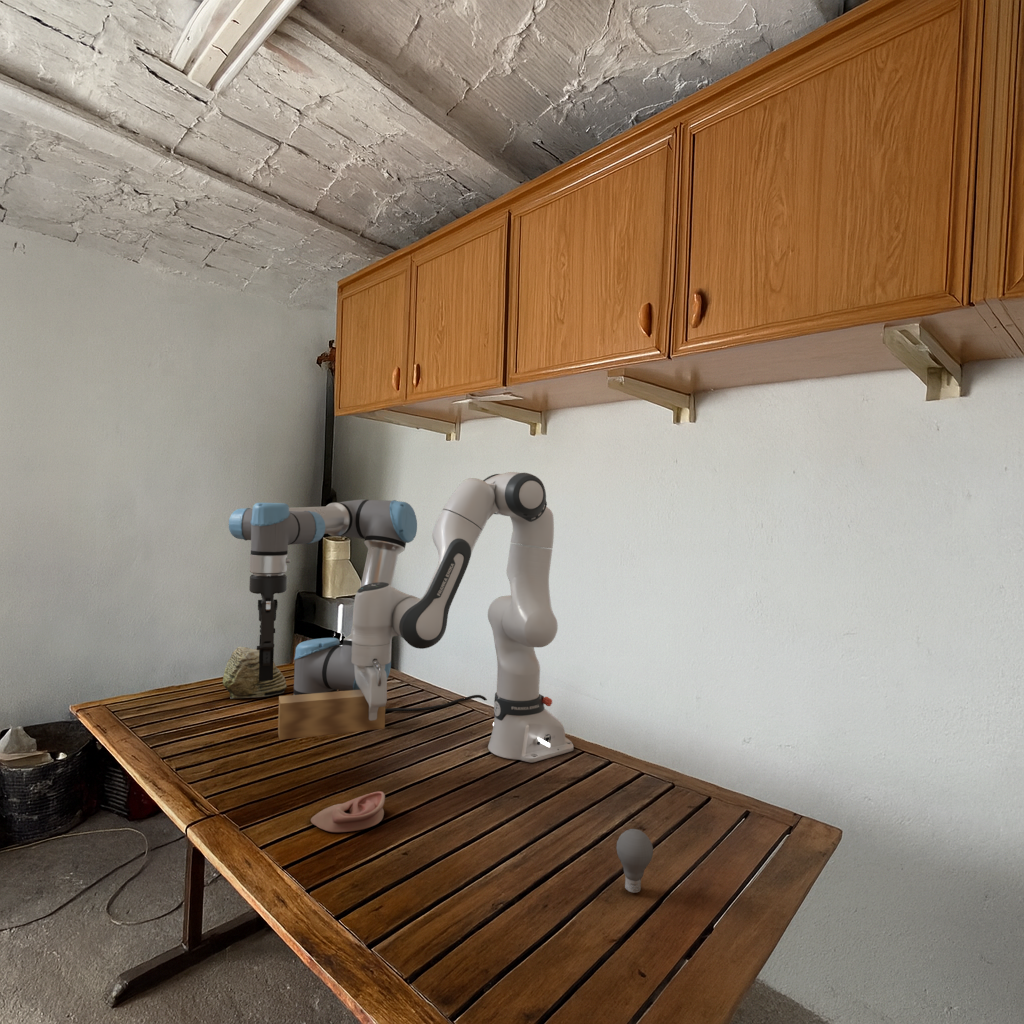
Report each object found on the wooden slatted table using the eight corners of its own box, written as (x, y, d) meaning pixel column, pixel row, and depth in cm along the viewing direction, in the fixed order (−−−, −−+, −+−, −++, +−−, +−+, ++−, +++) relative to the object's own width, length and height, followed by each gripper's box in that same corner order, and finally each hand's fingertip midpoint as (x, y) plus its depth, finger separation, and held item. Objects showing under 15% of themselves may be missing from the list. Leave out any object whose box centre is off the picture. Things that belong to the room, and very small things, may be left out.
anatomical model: (303, 807, 121) (332, 781, 132) (302, 827, 121) (331, 800, 132) (368, 817, 118) (392, 790, 129) (367, 838, 118) (391, 809, 129)
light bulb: (610, 879, 108) (613, 822, 108) (644, 879, 109) (647, 822, 109) (619, 902, 102) (622, 840, 102) (655, 901, 103) (658, 840, 103)
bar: (279, 740, 135) (280, 703, 134) (277, 731, 139) (279, 696, 139) (384, 728, 143) (385, 694, 143) (380, 720, 148) (381, 687, 148)
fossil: (218, 695, 195) (220, 647, 195) (278, 685, 208) (279, 640, 207) (228, 703, 189) (230, 653, 188) (289, 692, 201) (290, 645, 201)
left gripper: (289, 581, 127) (286, 686, 127) (284, 566, 150) (281, 655, 151) (248, 582, 124) (245, 689, 125) (250, 567, 147) (247, 657, 148)
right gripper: (395, 665, 136) (393, 728, 136) (376, 643, 155) (375, 699, 155) (365, 667, 134) (363, 732, 134) (350, 644, 152) (348, 701, 153)
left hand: (265, 671), depth 138 cm, fingers open, 13 cm apart
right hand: (369, 714), depth 145 cm, fingers closed on bar, 5 cm apart
